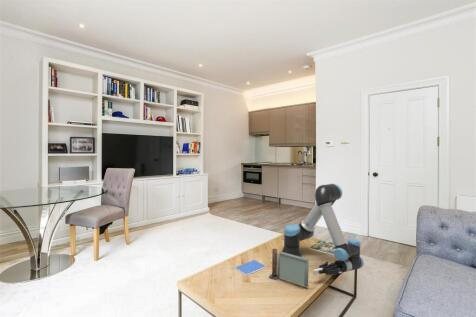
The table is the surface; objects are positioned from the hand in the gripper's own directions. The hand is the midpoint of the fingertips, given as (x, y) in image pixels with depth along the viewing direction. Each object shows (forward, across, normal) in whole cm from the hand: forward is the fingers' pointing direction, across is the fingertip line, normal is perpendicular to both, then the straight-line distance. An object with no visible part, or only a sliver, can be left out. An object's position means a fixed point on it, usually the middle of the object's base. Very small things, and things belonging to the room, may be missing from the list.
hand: (313, 272), depth 145 cm
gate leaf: (+12, +5, -5) cm, 14 cm away
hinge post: (+19, +15, -7) cm, 25 cm away
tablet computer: (+27, +32, -8) cm, 43 cm away
